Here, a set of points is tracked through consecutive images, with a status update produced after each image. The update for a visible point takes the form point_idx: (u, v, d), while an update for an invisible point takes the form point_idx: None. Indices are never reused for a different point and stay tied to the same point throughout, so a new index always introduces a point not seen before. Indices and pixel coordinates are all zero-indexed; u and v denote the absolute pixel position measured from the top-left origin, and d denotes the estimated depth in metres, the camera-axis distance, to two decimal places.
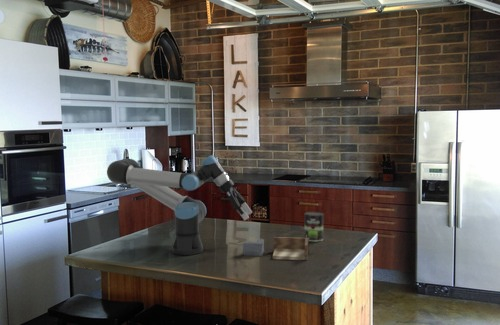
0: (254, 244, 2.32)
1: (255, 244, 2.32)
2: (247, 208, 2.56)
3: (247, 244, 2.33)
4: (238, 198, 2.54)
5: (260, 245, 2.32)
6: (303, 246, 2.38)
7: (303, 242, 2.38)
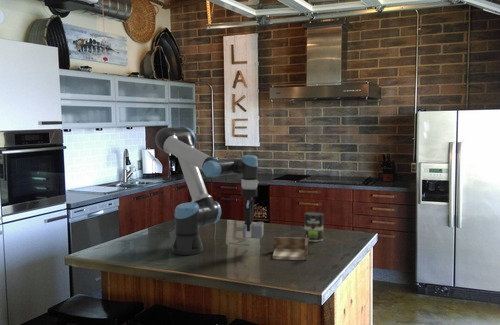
0: (254, 226, 2.32)
1: (255, 226, 2.32)
2: None
3: None
4: None
5: (260, 227, 2.31)
6: (303, 246, 2.38)
7: (303, 242, 2.38)
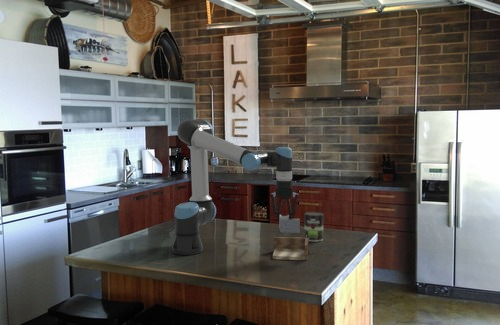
0: (280, 219, 2.30)
1: (280, 219, 2.30)
2: None
3: (281, 217, 2.34)
4: (287, 205, 2.32)
5: (280, 221, 2.27)
6: (303, 246, 2.38)
7: (303, 242, 2.38)
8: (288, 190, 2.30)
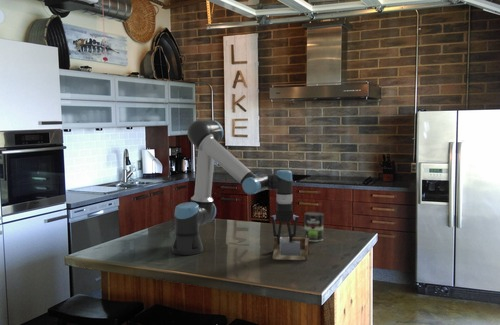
0: (281, 241, 2.31)
1: (281, 241, 2.31)
2: None
3: None
4: None
5: None
6: (303, 246, 2.38)
7: (303, 242, 2.38)
8: (288, 213, 2.31)
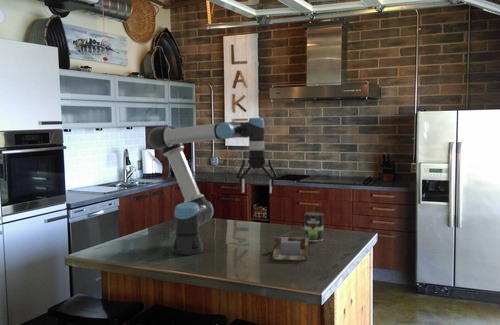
0: (281, 241, 2.31)
1: (281, 241, 2.31)
2: None
3: None
4: None
5: None
6: (303, 246, 2.38)
7: (303, 242, 2.38)
8: (260, 161, 2.38)
